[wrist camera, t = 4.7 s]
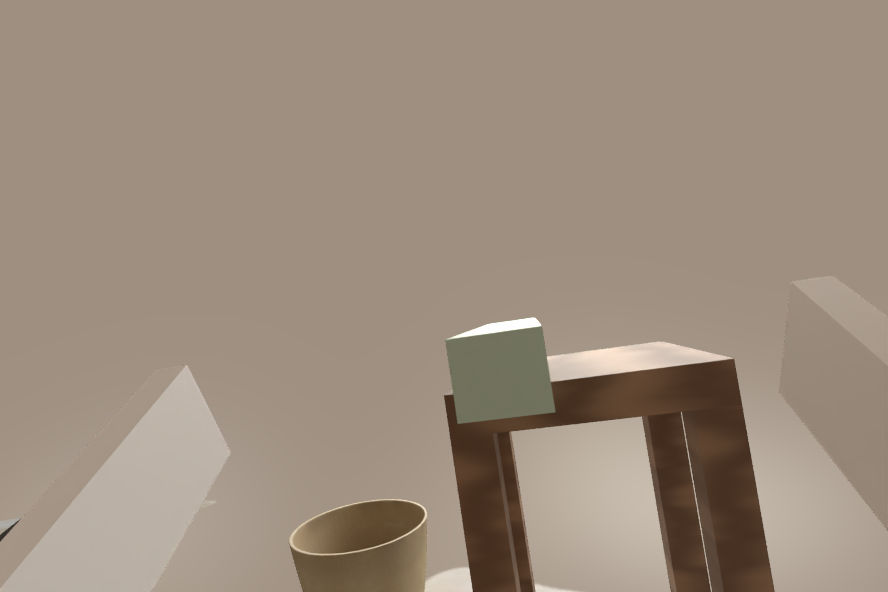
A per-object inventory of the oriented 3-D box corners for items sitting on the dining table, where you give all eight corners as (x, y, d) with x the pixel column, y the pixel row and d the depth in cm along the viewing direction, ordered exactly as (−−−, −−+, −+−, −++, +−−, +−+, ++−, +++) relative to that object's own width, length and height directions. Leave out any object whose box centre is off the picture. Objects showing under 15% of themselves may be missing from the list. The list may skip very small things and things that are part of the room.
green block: (494, 364, 46) (487, 324, 46) (541, 358, 45) (534, 317, 45) (457, 424, 22) (445, 339, 22) (555, 412, 22) (541, 325, 22)
